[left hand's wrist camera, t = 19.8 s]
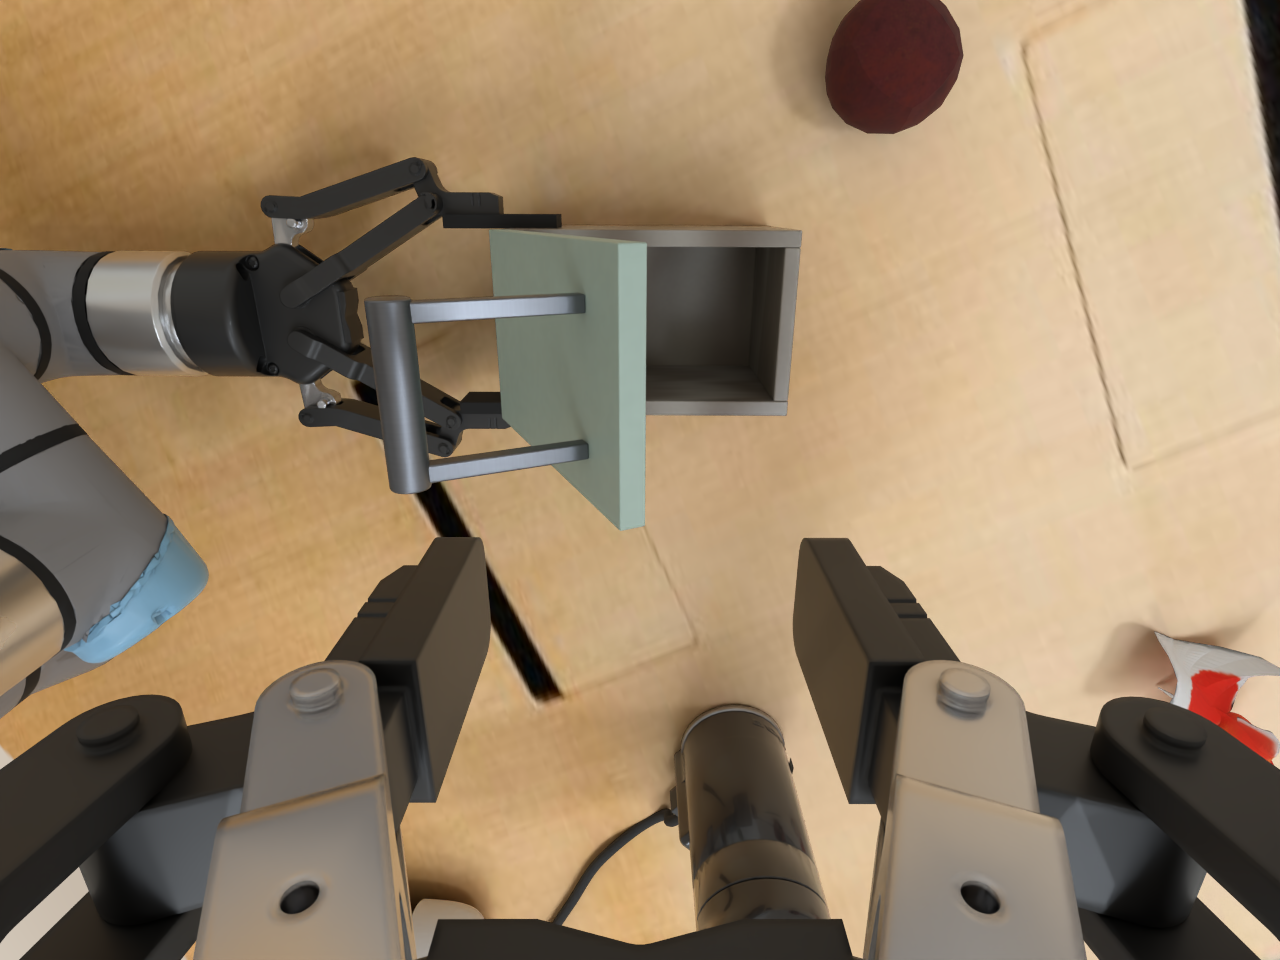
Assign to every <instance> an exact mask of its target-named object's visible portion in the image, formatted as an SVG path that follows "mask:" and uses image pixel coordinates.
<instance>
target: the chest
mask: <svg viewBox="0 0 1280 960" xmlns="http://www.w3.org/2000/svg"><path fill="white" fill-rule="evenodd" d="M506 229H509V230H520V231H530V232H541V233H552V234H562V235H573V236H584V237H594V238H605V239H615V240H626V241H637V242H646V243H647V298H646V415H737V416H786V415H787V406H788V402H787V400H788V392H789V380H790V369H791V357H792V345H793V333H794V321H795V309H796V297H797V285H798V274H799V262H800V250H801V249H800V248H799V247H801V240H802V231H801V230H794V229H786V228H778V227H771V226H677V225H562V227H560V228H506Z"/></svg>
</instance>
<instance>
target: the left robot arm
mask: <svg viewBox="0 0 1280 960" xmlns="http://www.w3.org/2000/svg"><path fill="white" fill-rule="evenodd" d="M490 627H491V622H490V607H489V597H488V586H487V575H486V564H485V553H484V546H483V542H482V540H481V538H479V537H437V538H435V539H434V540H433V542H432V544H431V545H430V547H429V548H428V550H427V552H426V553H425V555H424V556H423V558H422V560H421V561H420V563H419V564H418V565H404V566H402V567H400V568H399V569H397V570H396V571H394V572H393V573H391V574H390V575H388V576H387V577H385V578H384V579H382V580H381V581H380V582H379V584H378V585H377V587H376V588H375V589H374V591H373V592H372V594H371V595H370V597H369V598H368V602H365V604H364V605H363V607H362V608H361V609H360V611H359V612H358V616H357V617H355V618H354V619H353V621H352V622H351V624H350V625H349V627H348V628H347V629H346V631H345V632H344V634H343V635H342V637H341V638H340V639H339V641H338V642H337V644H336V645H335V647H334V648H333V649H332V651H331V652H330V654H329V655H328V657H327V658H326V659H325V661H323V662H318V663H314V664H310V665H307V666H304V667H301V668H298V669H296V670H294V671H291V672H289V673H287V674H286V675H284V676H282V677H280V678H279V679H277V680H276V681H275V682H273V683H272V684H271V685H270V686H269V687H267V688H266V689H265V690H264V692H263V693H262V694H261V695H260V697H259V699H258V700H257V703H256V706H255V711H254V712H251V713H247V714H243V715H239V716H234V717H229V718H224V719H219V720H214V721H210V722H205V723H200V724H195V725H190V726H187V725H186V722H185V718H184V715H183V711H182V708H181V706H180V704H179V703H178V702H177V701H175V700H174V699H172V698H170V697H166V696H162V695H139V696H132V697H127V698H123V699H118V700H115V701H112V702H108V703H106V704H103V705H100V706H98V707H95V708H93V709H91V710H88V711H86V712H84V713H82V714H80V715H78V716H77V717H75V718H73V719H71V720H70V721H68V722H67V723H65V724H64V725H62V726H61V727H59V728H58V729H56V730H55V731H54V732H52V733H51V734H49V735H48V736H47V737H45V738H44V739H42V740H41V741H40V742H38V743H37V744H35V745H34V746H33V747H31V748H30V749H28V750H27V751H26V752H24V753H23V754H21V755H20V756H19V757H17V758H16V759H14V760H13V761H12V762H10V763H9V764H7V765H6V766H5V767H3V768H2V769H0V943H1V941H2V940H3V939H4V938H5V936H6V935H7V934H8V933H9V932H10V931H11V930H12V929H13V928H14V927H15V926H16V925H17V924H18V923H19V922H20V921H21V920H22V919H23V918H24V917H25V916H27V914H29V913H30V912H31V911H32V910H33V909H34V908H35V907H36V906H37V905H38V904H39V903H40V902H41V901H43V900H44V899H45V898H46V897H47V896H48V895H49V894H50V893H51V892H52V891H53V890H54V889H55V888H57V887H58V886H59V885H60V884H61V883H62V882H63V881H64V880H65V879H66V878H67V877H68V876H69V875H70V874H72V873H73V872H74V871H75V870H76V869H77V868H78V867H79V868H80V870H81V873H82V875H83V878H84V880H85V883H86V885H87V887H88V890H89V892H88V893H87V894H86V895H85V896H84V897H83V898H82V899H81V900H80V901H79V902H78V903H77V904H76V905H75V906H73V908H71V909H70V910H69V911H68V912H67V913H66V914H65V915H64V916H63V917H62V918H61V919H60V920H59V921H58V922H57V923H56V924H55V925H54V926H53V927H52V928H51V929H50V930H49V931H48V932H47V933H46V934H45V935H44V936H43V937H42V938H41V939H40V940H39V941H38V942H37V943H36V944H35V945H34V946H33V947H32V948H31V949H30V950H29V951H28V952H27V953H26V954H25V955H24V956H23V957H22V958H21V959H19V960H181V959H182V958H183V956H184V955H185V954H186V953H187V951H188V950H189V949H190V948H191V946H192V945H193V944H194V943H195V941H196V940H197V941H196V946H195V952H194V957H193V960H1087V957H1086V952H1085V946H1084V941H1085V943H1086V944H1087V945H1088V946H1089V948H1090V949H1091V950H1092V951H1093V953H1094V954H1095V955H1096V956H1097V957H1098V959H1099V960H1261V959H1260V958H1259V957H1257V956H1256V955H1255V954H1254V953H1253V952H1252V951H1251V950H1250V949H1249V948H1248V947H1247V946H1246V945H1245V944H1244V943H1243V942H1242V941H1241V940H1240V939H1239V938H1238V937H1237V936H1236V935H1235V934H1234V933H1233V932H1232V931H1231V930H1230V929H1229V928H1228V927H1227V926H1226V925H1225V924H1224V923H1223V922H1222V921H1221V920H1220V919H1219V918H1218V917H1217V916H1216V915H1215V914H1214V913H1213V912H1212V911H1211V910H1210V909H1209V908H1208V907H1207V906H1206V905H1204V904H1203V903H1202V902H1201V901H1200V900H1199V899H1198V898H1197V895H1198V892H1199V890H1200V887H1201V885H1202V883H1203V880H1204V878H1205V875H1206V873H1208V874H1210V875H1211V876H1212V877H1213V878H1214V879H1215V880H1216V881H1217V882H1218V883H1219V884H1220V885H1221V886H1222V887H1223V888H1225V889H1226V890H1227V891H1228V892H1229V893H1230V894H1231V895H1232V896H1233V897H1234V898H1235V899H1236V900H1237V901H1238V902H1240V903H1241V904H1242V905H1243V906H1244V907H1245V908H1246V909H1247V910H1248V911H1249V912H1250V913H1251V914H1252V915H1253V916H1255V917H1256V918H1257V919H1258V920H1259V921H1260V922H1261V923H1262V924H1263V925H1264V926H1265V927H1266V928H1267V929H1269V930H1270V931H1271V932H1272V933H1273V935H1274V936H1275V937H1276V938H1277V939H1278V940H1279V941H1280V769H1278V768H1277V767H1275V766H1274V765H1273V764H1271V763H1270V762H1268V761H1267V760H1266V759H1264V758H1263V757H1261V756H1260V755H1259V754H1257V753H1256V752H1254V751H1253V750H1252V749H1250V748H1249V747H1247V746H1246V745H1245V744H1243V743H1242V742H1240V741H1239V740H1238V739H1236V738H1235V737H1233V736H1232V735H1231V734H1229V733H1228V732H1226V731H1225V730H1224V729H1222V728H1221V727H1219V726H1218V725H1216V724H1215V723H1213V722H1212V721H1210V720H1208V719H1206V718H1204V717H1202V716H1201V715H1199V714H1196V713H1194V712H1192V711H1190V710H1188V709H1185V708H1182V707H1180V706H1177V705H1174V704H1171V703H1168V702H1164V701H1160V700H1156V699H1151V698H1144V697H1121V698H1116V699H1113V700H1111V701H1109V702H1107V703H1106V704H1105V705H1104V706H1103V708H1102V709H1101V712H1100V715H1099V719H1098V722H1097V725H1096V727H1094V726H1089V725H1084V724H1079V723H1075V722H1070V721H1065V720H1060V719H1055V718H1050V717H1046V716H1042V715H1038V714H1033V713H1030V712H1027V711H1025V706H1024V703H1023V700H1022V699H1021V697H1020V695H1019V694H1018V693H1017V692H1016V690H1015V689H1014V688H1013V687H1011V686H1010V685H1009V684H1008V683H1007V682H1005V681H1004V680H1003V679H1001V678H1000V677H998V676H996V675H994V674H993V673H991V672H989V671H986V670H984V669H982V668H979V667H976V666H973V665H970V664H966V663H962V662H960V660H959V659H958V658H957V656H956V655H955V653H954V652H953V650H952V649H951V648H950V646H949V645H948V643H947V642H946V641H945V639H944V638H943V636H942V635H941V634H940V632H939V631H938V629H937V628H936V627H935V625H934V624H933V622H932V621H931V619H930V618H927V614H926V612H925V611H924V610H923V608H922V607H921V605H920V604H919V603H916V598H915V597H914V596H913V594H912V593H911V591H910V590H909V588H908V587H907V586H906V584H905V583H904V581H902V580H900V579H899V578H897V577H896V576H894V575H893V574H891V573H890V572H888V571H887V570H885V569H884V568H882V567H881V566H866V565H865V563H864V562H863V560H862V559H861V557H860V556H859V554H858V552H857V551H856V549H855V548H854V546H853V544H852V543H851V541H850V540H849V539H848V538H804V539H803V540H802V542H801V545H800V550H799V559H798V570H797V580H796V591H795V602H794V613H793V638H794V646H795V651H796V654H797V657H798V660H799V663H800V666H801V669H802V672H803V675H804V677H805V680H806V683H807V686H808V689H809V692H810V694H811V697H812V700H813V703H814V706H815V709H816V711H817V714H818V717H819V720H820V723H821V726H822V729H823V731H824V734H825V737H826V740H827V743H828V746H829V748H830V751H831V754H832V757H833V760H834V763H835V765H836V768H837V771H838V774H839V777H840V780H841V782H842V785H843V788H844V791H845V794H846V797H847V800H848V802H849V804H876V805H877V807H878V810H879V812H880V815H881V820H880V826H879V832H878V838H877V845H876V854H875V862H874V870H873V878H872V887H871V895H870V903H869V912H868V920H867V928H866V936H865V945H864V953H863V959H862V958H858V957H854V956H852V952H851V949H850V945H849V942H848V938H847V935H846V931H845V928H844V924H843V921H842V919H831V918H830V914H829V910H828V906H827V903H826V899H825V895H824V892H823V888H822V884H821V880H820V877H819V873H818V870H817V866H816V862H815V859H814V855H813V851H812V847H811V844H810V840H809V836H808V833H807V829H806V825H805V821H804V818H803V814H802V810H801V807H800V803H799V799H798V795H797V792H796V788H795V784H794V781H793V777H792V773H793V764H792V761H791V758H790V762H788V758H787V755H786V751H785V750H786V749H785V744H784V739H783V735H782V732H781V730H780V728H779V726H778V725H777V723H776V722H775V721H774V720H773V719H772V718H771V717H770V716H768V715H767V714H766V713H764V712H762V711H760V710H758V709H755V708H752V707H749V706H743V705H727V706H721V707H717V708H714V709H711V710H709V711H707V712H705V713H703V714H701V715H700V716H698V717H697V718H696V719H695V720H694V721H693V722H692V723H691V724H690V725H689V726H688V728H687V729H686V731H685V733H684V735H683V738H682V742H681V749H680V750H679V751H678V752H677V753H676V754H675V755H674V760H675V776H676V787H674V788H673V789H672V790H670V801H671V810H670V809H664V810H661V811H658V812H656V813H654V814H653V815H651V816H649V817H648V818H646V819H644V820H643V821H641V822H639V823H637V824H635V825H634V826H632V827H631V828H630V829H628V830H627V831H626V832H624V833H623V834H622V835H621V836H619V837H618V838H617V839H616V840H615V841H613V842H612V843H611V844H610V845H609V846H608V847H607V848H606V849H605V850H604V851H603V852H601V853H600V854H599V855H598V857H597V858H596V859H595V860H594V861H593V862H592V863H591V864H590V866H589V867H588V868H587V870H586V871H585V873H584V874H583V876H582V877H581V879H580V880H579V882H578V884H577V885H576V887H575V889H574V891H573V892H572V894H571V895H570V897H569V899H568V900H567V902H566V903H565V905H564V906H563V908H562V909H561V910H560V912H559V913H558V915H557V916H556V918H555V919H554V921H553V923H550V922H546V921H543V920H539V919H438V921H437V924H436V928H435V931H434V935H433V938H432V942H431V945H430V949H429V952H428V956H426V957H422V958H418V959H417V953H416V945H415V936H414V928H413V920H412V912H411V903H410V895H409V887H408V878H407V870H406V862H405V854H404V845H403V838H402V832H401V826H400V824H401V822H402V819H403V817H404V814H405V811H406V809H407V806H408V804H409V803H436V800H437V797H438V794H439V792H440V789H441V786H442V783H443V780H444V777H445V774H446V771H447V768H448V765H449V763H450V760H451V757H452V754H453V751H454V748H455V745H456V742H457V739H458V736H459V734H460V731H461V728H462V725H463V722H464V719H465V716H466V713H467V710H468V707H469V705H470V702H471V699H472V696H473V693H474V690H475V687H476V684H477V681H478V678H479V676H480V673H481V670H482V667H483V664H484V661H485V658H486V655H487V652H488V647H489V641H490ZM661 821H664V823H665V824H666V826H670V827H674V826H676V825H678V824H679V839H680V842H681V843H682V845H683V846H685V847H686V848H687V849H689V850H690V857H691V870H692V882H693V893H694V906H695V919H696V932H692V933H688V934H685V935H681V936H677V937H673V938H670V939H666V940H662V941H658V942H655V943H651V944H645V945H635V944H629V943H625V942H622V941H618V940H614V939H610V938H607V937H603V936H599V935H595V934H592V933H588V932H584V931H580V930H577V929H573V928H569V927H565V926H561V925H562V924H563V922H564V921H565V919H566V918H567V917H568V915H569V914H570V912H571V911H572V909H573V908H574V906H575V905H576V903H577V902H578V900H579V899H580V897H581V895H582V894H583V892H584V890H585V889H586V887H587V885H588V884H589V882H590V881H591V879H592V878H593V876H594V875H595V873H596V872H597V871H598V870H599V868H600V867H601V866H602V865H603V864H604V863H605V862H606V861H607V860H608V859H609V858H610V857H611V856H612V855H614V854H615V853H616V852H617V851H618V850H619V849H620V848H622V847H623V846H624V845H625V844H626V843H628V842H629V841H630V840H631V839H633V838H634V837H635V836H637V835H638V834H640V833H641V832H642V831H644V830H645V829H647V828H649V827H650V826H652V825H654V824H656V823H658V822H661ZM1083 940H1084V941H1083Z"/></svg>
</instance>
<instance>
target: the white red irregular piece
mask: <svg viewBox="0 0 1280 960" xmlns="http://www.w3.org/2000/svg"><path fill="white" fill-rule="evenodd" d="M1155 634H1156V636H1157V638H1158V640H1159V642H1160V644H1161V645H1162V647H1163V649H1164V650H1165V652H1166V653H1167V655H1168V657H1169V659H1170V661H1171V664H1172V666H1173V669H1174V672H1175V675H1176V678H1177V681H1178V682H1177V686H1176V691H1175V695H1172V694H1171V693H1169V692H1167V691H1165V690H1163V689H1161V688H1159V687H1158V688H1159V689H1160V690H1161V691H1163V692H1164V693H1166V694H1167V695H1168V696H1170V697H1171V698H1172V700H1171V702H1170V703H1171V704H1174V705H1177V706H1180V707H1182V708H1185V709H1188V710H1190V711H1192V712H1194V713H1196V714H1199V715H1201V716H1202V717H1204V718H1206V719H1208V720H1210V721H1212V722H1213V723H1215V724H1216V725H1218V726H1219V727H1221V728H1222V729H1224V730H1225V731H1226V732H1228V733H1229V734H1231V735H1232V736H1233V737H1235V738H1236V739H1238V740H1239V741H1240V742H1242V743H1243V744H1245V745H1246V746H1247V747H1249V748H1250V749H1252V750H1253V751H1254V752H1256V753H1257V754H1259V755H1260V756H1261V757H1263V758H1264V759H1266V760H1267V761H1268V762H1270V763H1271V764H1273V762H1272V761H1271V760H1272V758H1274V757H1276V756H1277V754H1278V753H1279V750H1280V743H1279V741H1278V739H1277V738H1276V736H1275V735H1274V734H1273V733H1272V732H1270V731H1267V730H1263V729H1260V728H1258V727H1256V726H1254V725H1252V724H1251V723H1250V722H1249V721H1248V720H1247V719H1245V718H1244V717H1243V716H1241V715H1239V714H1236V713H1233V712H1230V711H1231V710H1232V707H1233V704H1234V701H1235V698H1236V695H1237V692H1238V690H1239V689H1240V688H1241V687H1242V685H1243V684H1244V683H1245V682H1246V680H1247V679H1248V678H1250V677H1254V676H1264V675H1273V676H1280V668H1279V667H1277V666H1275V665H1274V664H1272V663H1270V662H1268V661H1266V660H1265V659H1263V658H1261V657H1257V656H1254V655H1250V654H1246V653H1242V652H1238V651H1235V650H1231V649H1227V648H1223V647H1219V646H1212V645H1206V644H1200V643H1193V642H1187V641H1181V640H1175V639H1172V638H1170V637H1168V636H1165V635H1163V634H1160V633H1158V632H1155ZM1273 765H1274V764H1273Z"/></svg>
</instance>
